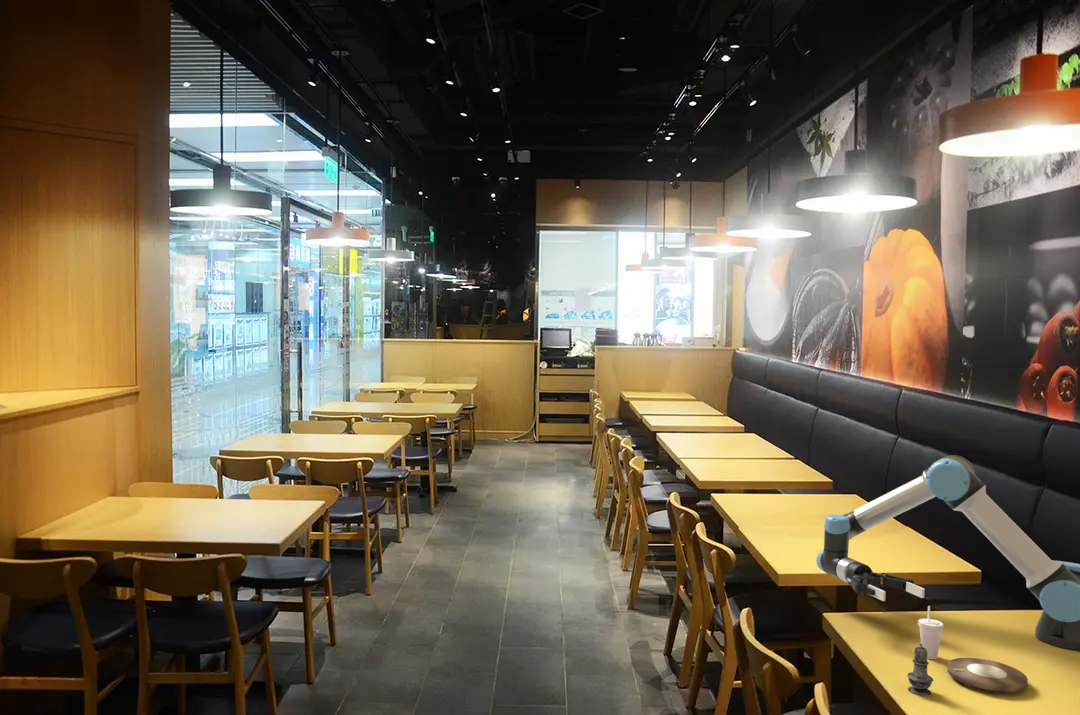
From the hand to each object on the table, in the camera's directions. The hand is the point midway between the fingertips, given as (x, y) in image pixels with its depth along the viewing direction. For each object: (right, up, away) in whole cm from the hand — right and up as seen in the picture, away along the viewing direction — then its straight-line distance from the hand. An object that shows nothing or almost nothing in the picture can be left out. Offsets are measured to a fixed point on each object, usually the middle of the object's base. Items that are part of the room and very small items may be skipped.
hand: (904, 595), depth 231 cm
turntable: (+10, -14, -25) cm, 30 cm away
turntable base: (+10, -15, -25) cm, 30 cm away
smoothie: (+3, -15, -9) cm, 17 cm away
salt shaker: (-10, -15, -32) cm, 36 cm away
